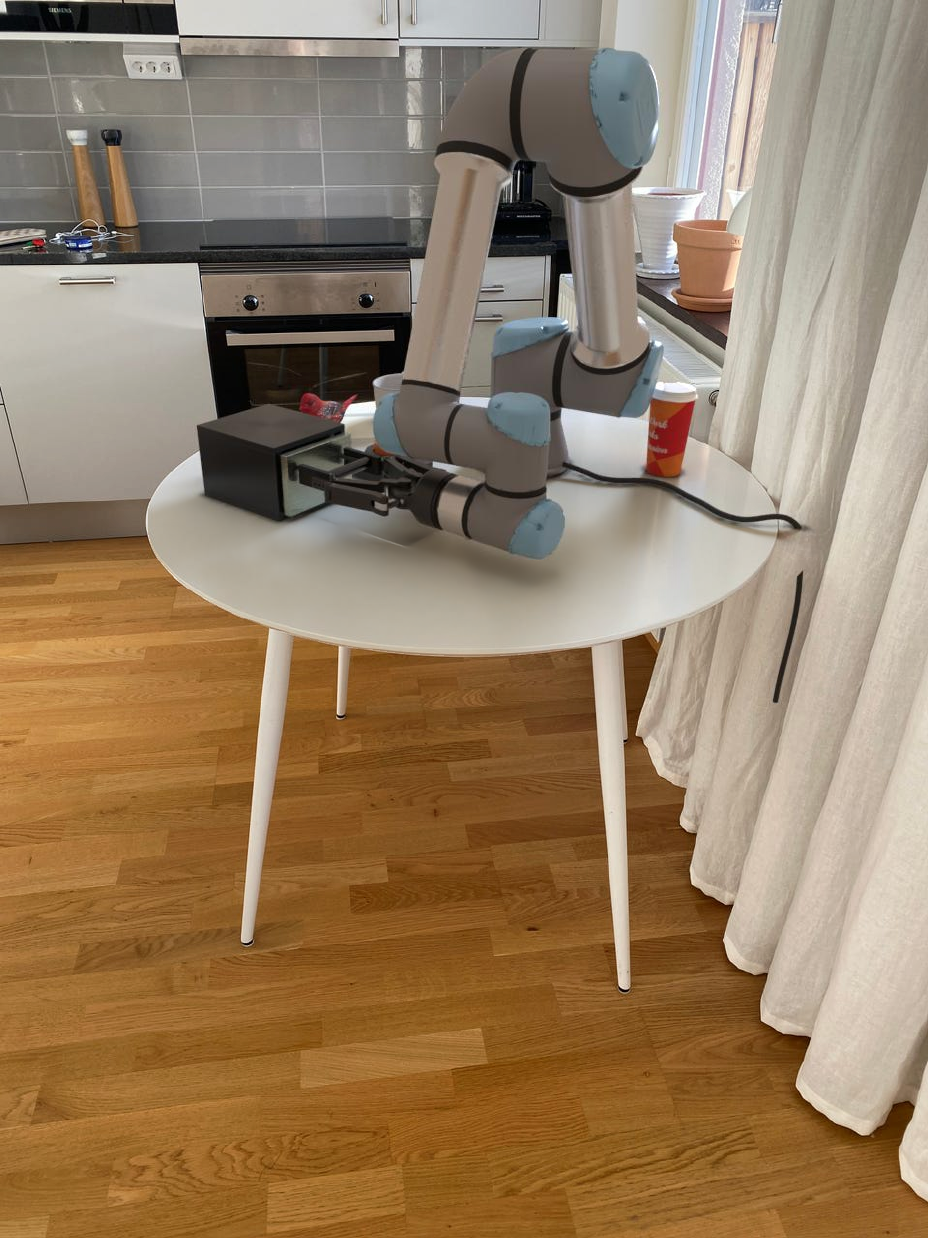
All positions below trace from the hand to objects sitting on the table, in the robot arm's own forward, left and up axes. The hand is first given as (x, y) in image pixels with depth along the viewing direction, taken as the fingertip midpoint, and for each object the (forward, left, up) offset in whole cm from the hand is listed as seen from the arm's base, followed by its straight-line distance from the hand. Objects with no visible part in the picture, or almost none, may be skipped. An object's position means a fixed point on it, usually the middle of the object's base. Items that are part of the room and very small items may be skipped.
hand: (323, 464), depth 133 cm
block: (+3, -18, -7) cm, 19 cm away
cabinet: (+10, 0, -7) cm, 12 cm away
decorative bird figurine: (+21, -24, -7) cm, 32 cm away
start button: (+3, -18, -3) cm, 18 cm away
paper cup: (-31, -48, -7) cm, 57 cm away
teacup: (+19, -42, -7) cm, 46 cm away
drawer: (+5, 0, -6) cm, 8 cm away
